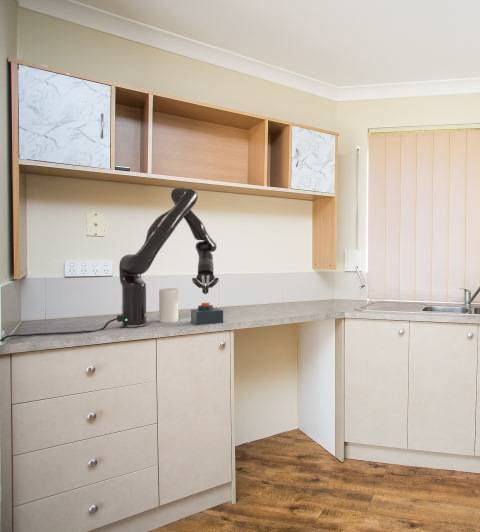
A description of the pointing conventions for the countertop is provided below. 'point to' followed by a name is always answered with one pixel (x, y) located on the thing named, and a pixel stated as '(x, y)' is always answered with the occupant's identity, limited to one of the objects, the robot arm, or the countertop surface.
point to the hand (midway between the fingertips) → (205, 293)
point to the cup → (168, 305)
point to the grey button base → (206, 315)
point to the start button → (205, 304)
